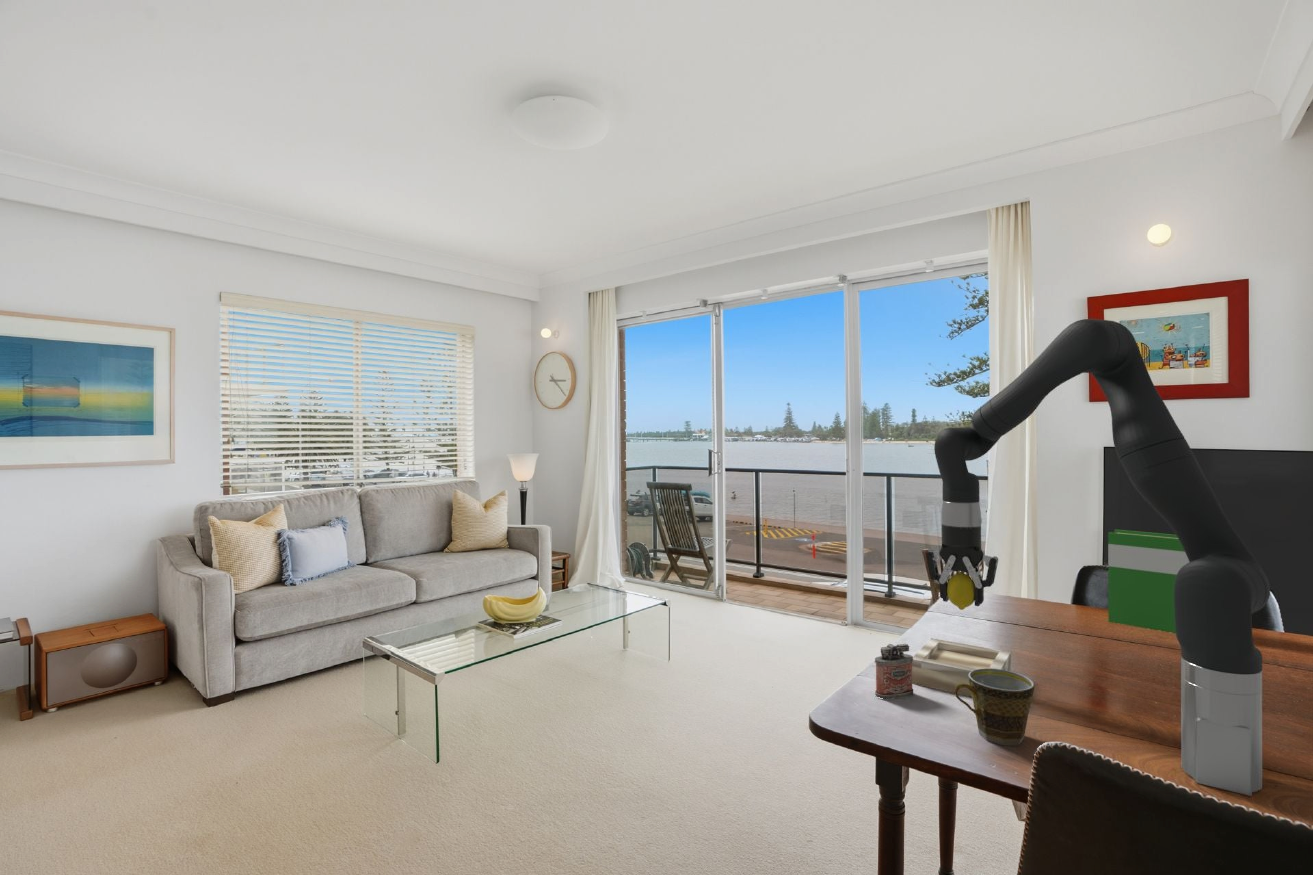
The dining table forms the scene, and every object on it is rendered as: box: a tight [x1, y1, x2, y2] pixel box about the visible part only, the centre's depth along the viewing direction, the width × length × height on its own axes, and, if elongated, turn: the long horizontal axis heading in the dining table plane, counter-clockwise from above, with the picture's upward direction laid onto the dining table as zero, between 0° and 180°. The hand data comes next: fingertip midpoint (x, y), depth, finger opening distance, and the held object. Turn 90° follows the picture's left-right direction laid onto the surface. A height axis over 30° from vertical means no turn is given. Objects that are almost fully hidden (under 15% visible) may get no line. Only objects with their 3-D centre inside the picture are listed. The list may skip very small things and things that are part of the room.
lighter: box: [874, 643, 914, 700], centre depth 129 cm, size 8×3×10 cm, turn 105°
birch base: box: [912, 637, 1012, 698], centre depth 136 cm, size 16×16×6 cm
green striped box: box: [1107, 529, 1189, 635], centre depth 170 cm, size 18×7×24 cm, turn 43°
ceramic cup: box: [954, 669, 1035, 747], centre depth 111 cm, size 13×10×10 cm
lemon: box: [947, 571, 976, 611], centre depth 136 cm, size 6×6×8 cm
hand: (961, 602), depth 136 cm, fingers closed on lemon, 5 cm apart
